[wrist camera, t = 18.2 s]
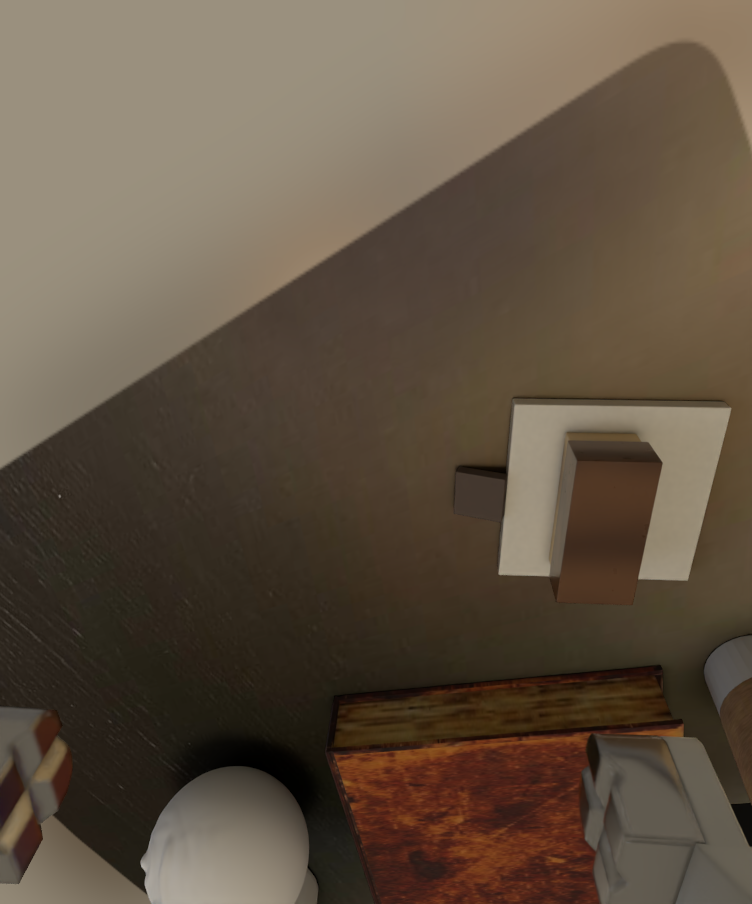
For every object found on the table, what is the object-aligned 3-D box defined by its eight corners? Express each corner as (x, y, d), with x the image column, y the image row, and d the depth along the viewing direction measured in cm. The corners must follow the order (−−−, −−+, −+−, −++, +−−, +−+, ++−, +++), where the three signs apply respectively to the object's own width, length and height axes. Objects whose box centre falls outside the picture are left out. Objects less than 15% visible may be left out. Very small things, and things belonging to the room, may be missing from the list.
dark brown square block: (459, 465, 41) (455, 471, 40) (507, 473, 40) (505, 480, 39) (456, 507, 42) (453, 513, 41) (503, 516, 41) (501, 523, 40)
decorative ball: (168, 728, 53) (104, 882, 42) (317, 737, 52) (290, 895, 42) (186, 823, 58) (133, 980, 48) (320, 832, 58) (298, 993, 47)
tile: (512, 397, 38) (514, 404, 37) (724, 401, 38) (732, 408, 37) (497, 565, 44) (498, 575, 43) (682, 571, 43) (688, 581, 42)
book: (331, 696, 50) (322, 752, 46) (660, 665, 47) (685, 723, 42) (400, 920, 63) (398, 981, 59) (662, 909, 60) (681, 973, 55)
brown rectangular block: (562, 428, 38) (576, 460, 34) (640, 429, 38) (663, 462, 34) (544, 561, 42) (556, 603, 39) (615, 564, 42) (632, 605, 38)
